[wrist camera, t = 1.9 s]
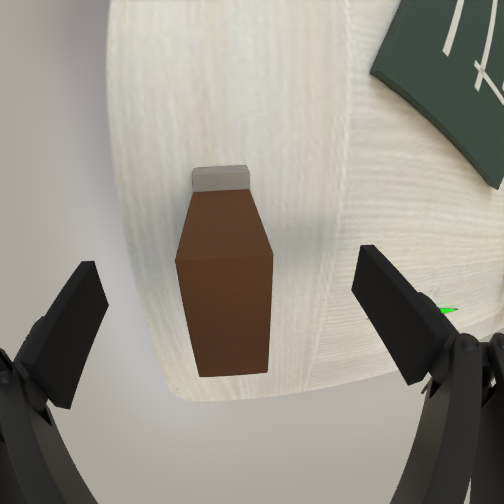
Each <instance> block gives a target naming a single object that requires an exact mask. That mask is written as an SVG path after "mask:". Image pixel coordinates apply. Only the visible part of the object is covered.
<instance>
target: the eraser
mask: <svg viewBox="0 0 504 504" xmlns="http://www.w3.org/2000/svg"><path fill="white" fill-rule="evenodd" d="M192 184H193V195H192V198H191V202H190V205H189V209H188V213H187V216H186V220H185V223H184V227H183V231H182V235H181V239H180V243H179V247H178V250H177V255H176V259H175V263H176V269H177V274H178V280H179V286H180V291H181V296H182V301H183V307H184V312H185V316H186V321H187V326H188V331H189V335H190V340H191V344H192V348H193V353H194V357H195V361H196V365H197V369H198V373H199V376H200V377H217V376H234V375H247V374H258V373H267V372H268V358H269V340H270V321H271V299H272V276H273V252H272V249H271V247H270V244H269V241H268V238H267V235H266V233H265V230H264V227H263V224H262V222H261V219H260V216H259V214H258V211H257V208H256V205H255V203H254V200H253V197H252V195H251V192H250V185H249V170H248V168H247V166H246V165H241V166H219V167H203V168H195V169H194V171H193V173H192Z"/></svg>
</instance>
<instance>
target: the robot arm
mask: <svg viewBox="0 0 504 504" xmlns="http://www.w3.org/2000/svg"><path fill="white" fill-rule="evenodd" d="M351 291H352V292H353V294H354V295H355V297H356V299H357V300H358V302H359V303H360V305H361V306H362V308H363V310H364V311H365V313H366V314H367V316H368V318H369V319H370V321H371V323H372V324H373V326H374V328H375V329H376V331H377V333H378V334H379V336H380V338H381V339H382V341H383V343H384V344H385V346H386V348H387V349H388V351H389V353H390V355H391V356H392V358H393V360H394V362H395V363H396V365H397V367H398V369H399V370H400V372H401V374H402V376H403V378H404V379H405V381H406V383H407V385H408V386H409V385H412V384H414V383H417V382H420V381H422V380H423V379H424V377H425V376H426V374H427V372H428V371H429V373H430V375H431V376H432V377H431V378H430V380H429V381H428V383H427V384H426V386H425V387H424V389H423V390H422V392H421V394H423V393H424V392H425V391H426V389H427V393H426V397H425V402H424V406H423V410H422V414H421V418H420V422H419V426H418V429H417V433H416V436H415V439H414V443H413V446H412V449H411V452H410V455H409V458H408V460H407V463H406V466H405V469H404V471H403V474H402V477H401V479H400V481H399V484H398V486H397V489H396V491H395V493H394V496H393V498H392V500H391V502H390V504H464V500H465V497H466V493H467V490H468V486H469V482H470V478H471V491H470V503H469V504H504V334H502V333H495V334H494V335H493V337H492V338H491V340H490V341H489V342H478V340H477V339H476V338H475V337H474V336H472V335H470V334H467V333H461V334H460V333H459V332H458V331H457V330H456V328H455V327H454V326H453V325H452V323H451V322H450V321H449V320H448V319H447V317H446V316H445V315H444V314H443V313H441V310H440V309H439V308H438V307H436V304H435V303H434V302H433V301H432V300H431V299H430V298H429V297H428V296H426V295H425V294H423V293H422V292H417V291H416V290H415V289H414V288H413V287H412V285H411V284H410V283H409V282H408V281H407V280H406V279H405V278H404V277H403V275H402V274H401V273H400V272H399V271H398V270H397V269H396V268H395V267H394V266H393V265H392V264H391V262H390V261H389V260H388V259H387V258H386V257H385V256H384V255H383V254H382V253H381V252H380V251H379V250H378V249H377V248H376V247H375V246H374V245H361V246H360V251H359V256H358V261H357V266H356V271H355V276H354V281H353V285H352V289H351ZM108 306H109V304H108V302H107V299H106V296H105V293H104V290H103V287H102V284H101V281H100V278H99V275H98V272H97V269H96V265H95V262H94V261H82V262H81V263H80V265H79V266H78V267H77V269H76V270H75V271H74V273H73V274H72V276H71V277H70V278H69V280H68V281H67V283H66V284H65V286H64V287H63V289H62V290H61V292H60V293H59V295H58V296H57V298H56V299H55V301H54V302H53V304H52V305H51V307H50V309H49V310H48V312H47V313H46V315H45V316H42V317H41V318H40V319H39V320H38V321H37V322H36V323H35V324H34V325H33V327H32V329H31V330H30V334H28V335H27V337H26V341H24V342H23V344H22V346H21V348H20V350H19V352H18V353H17V355H16V357H15V359H14V361H13V362H12V361H11V360H10V358H9V357H8V355H7V354H6V353H5V351H4V350H3V349H1V348H0V504H98V503H97V501H96V500H95V498H94V497H93V495H92V493H91V492H90V490H89V489H88V487H87V485H86V484H85V482H84V480H83V479H82V477H81V476H80V473H79V472H78V470H77V468H76V466H75V464H74V463H73V460H72V458H71V457H70V455H69V452H68V451H67V448H66V446H65V444H64V442H63V440H62V438H61V436H60V433H59V431H58V429H57V426H56V424H55V421H54V419H53V416H52V414H51V411H50V409H49V408H48V406H47V405H46V403H47V400H48V399H49V400H50V401H51V402H52V403H53V404H54V405H55V406H56V407H60V408H65V409H70V408H71V404H72V401H73V398H74V395H75V392H76V388H77V385H78V383H79V380H80V377H81V374H82V371H83V368H84V365H85V362H86V360H87V357H88V355H89V352H90V349H91V347H92V344H93V342H94V339H95V337H96V334H97V332H98V329H99V327H100V325H101V322H102V319H103V317H104V315H105V313H106V310H107V308H108ZM494 378H495V380H496V384H495V385H494V386H493V387H492V385H491V381H492V380H493V379H494Z"/></svg>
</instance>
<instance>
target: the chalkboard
mask: <svg viewBox="0 0 504 504" xmlns="http://www.w3.org/2000/svg"><path fill="white" fill-rule="evenodd" d="M370 73H371V74H373V75H374V76H376V77H377V78H378V79H380V80H381V81H383V82H384V83H385V84H387V85H388V86H389V87H391V88H392V89H393V90H394V91H396V92H397V93H398V94H400V95H401V96H402V97H403V98H405V99H406V100H407V101H408V102H409V103H411V104H412V105H413V106H414V107H415V108H416V109H418V110H419V111H420V112H421V113H422V114H423V115H424V116H426V117H427V118H428V119H429V120H430V121H431V122H432V123H433V124H434V125H435V126H436V127H437V128H438V129H439V130H440V131H441V132H442V133H443V134H444V135H445V136H446V137H447V138H448V139H449V140H450V141H451V142H452V143H453V144H454V145H455V146H456V147H457V148H458V149H459V150H460V151H461V152H462V153H463V154H464V156H465V157H466V158H467V159H468V160H469V161H470V162H471V164H472V165H473V166H474V167H475V168H476V169H477V171H478V172H479V173H480V174H481V175H482V177H483V178H484V179H485V181H486V182H487V183H488V184H489V186H491V187H493V188H495V189H497V190H498V189H499V186H500V184H501V182H502V179H503V177H504V0H402V1H401V3H400V5H399V8H398V10H397V12H396V15H395V17H394V19H393V21H392V24H391V26H390V28H389V31H388V33H387V35H386V37H385V40H384V42H383V44H382V46H381V48H380V51H379V53H378V55H377V57H376V60H375V62H374V64H373V66H372V68H371V70H370Z"/></svg>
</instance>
